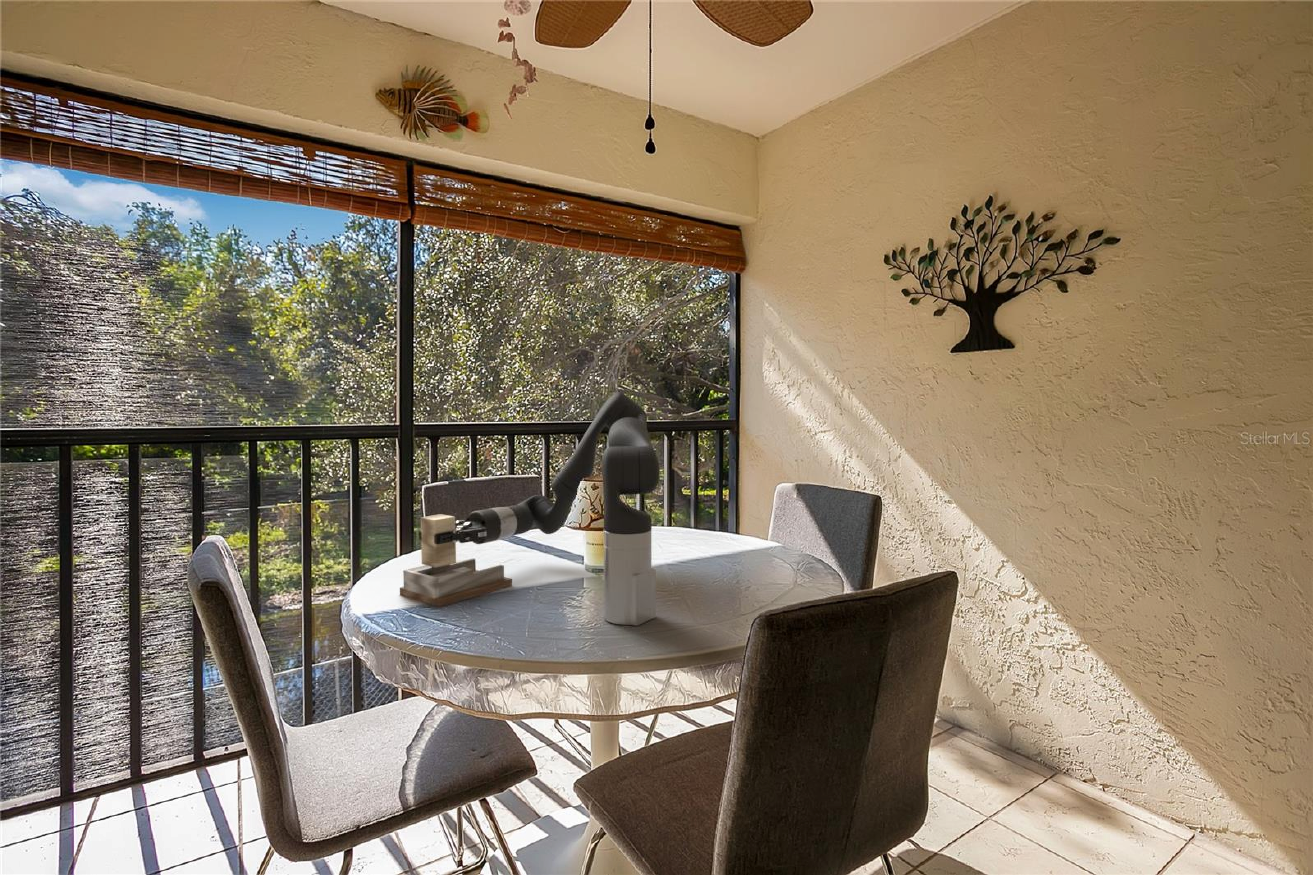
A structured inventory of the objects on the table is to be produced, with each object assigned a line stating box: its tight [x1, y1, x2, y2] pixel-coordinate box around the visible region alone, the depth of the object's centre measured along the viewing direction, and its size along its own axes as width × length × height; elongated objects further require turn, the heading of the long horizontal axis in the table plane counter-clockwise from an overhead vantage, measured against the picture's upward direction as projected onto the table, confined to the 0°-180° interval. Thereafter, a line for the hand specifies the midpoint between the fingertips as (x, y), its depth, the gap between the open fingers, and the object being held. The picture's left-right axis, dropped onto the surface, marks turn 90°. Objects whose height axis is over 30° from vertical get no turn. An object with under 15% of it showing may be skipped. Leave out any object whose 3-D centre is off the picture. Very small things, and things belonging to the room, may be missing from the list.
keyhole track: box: [399, 557, 513, 608], centre depth 146 cm, size 14×19×6 cm
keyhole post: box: [420, 513, 457, 575], centre depth 142 cm, size 7×7×15 cm
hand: (427, 537), depth 140 cm, fingers closed on keyhole post, 5 cm apart
